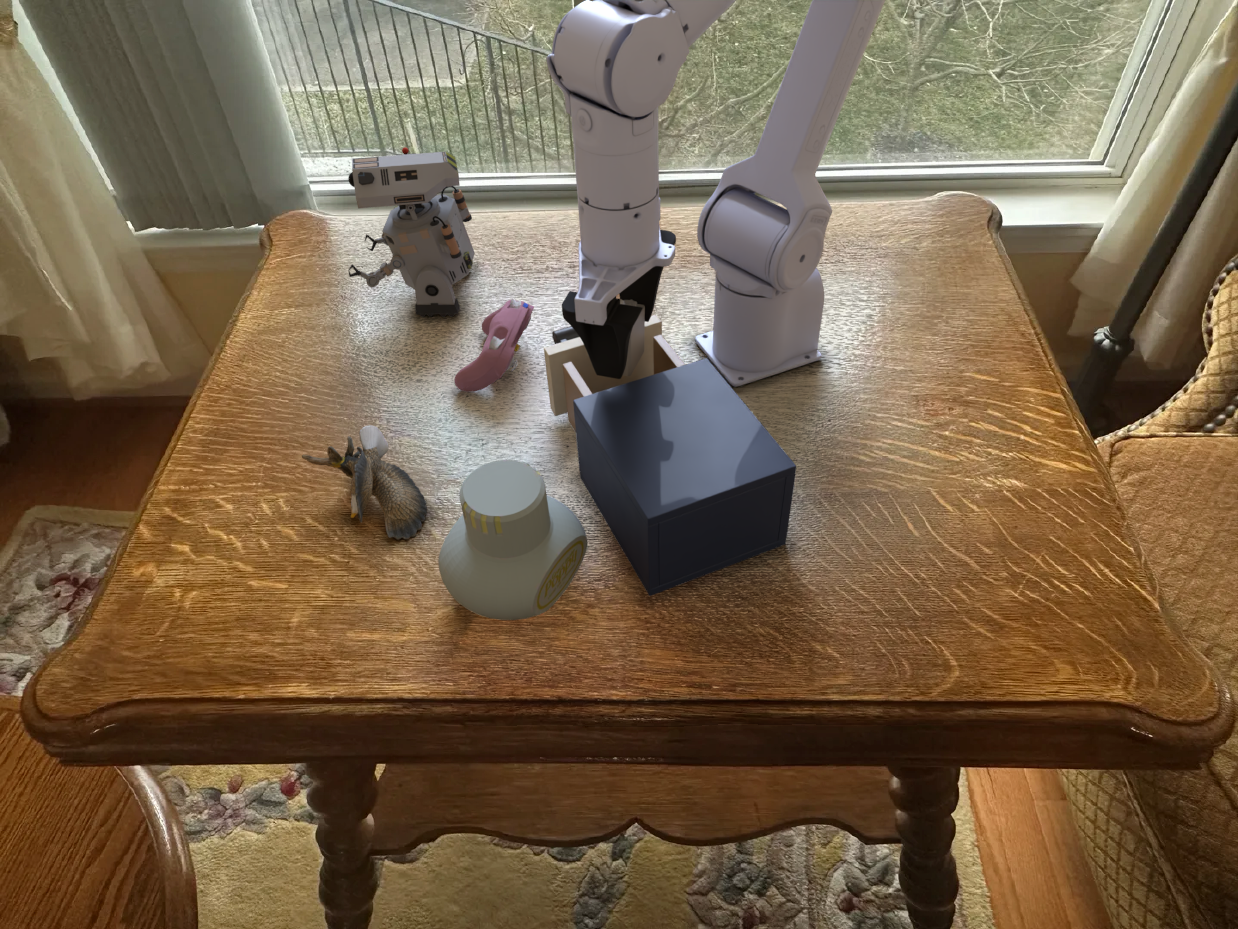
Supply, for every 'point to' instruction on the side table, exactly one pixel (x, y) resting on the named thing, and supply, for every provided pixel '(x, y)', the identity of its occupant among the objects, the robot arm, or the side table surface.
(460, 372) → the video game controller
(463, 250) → the figurine
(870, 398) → the side table surface
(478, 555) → the air freshener
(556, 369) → the drawer
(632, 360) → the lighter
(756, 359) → the robot arm
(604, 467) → the cabinet
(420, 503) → the eagle figurine
